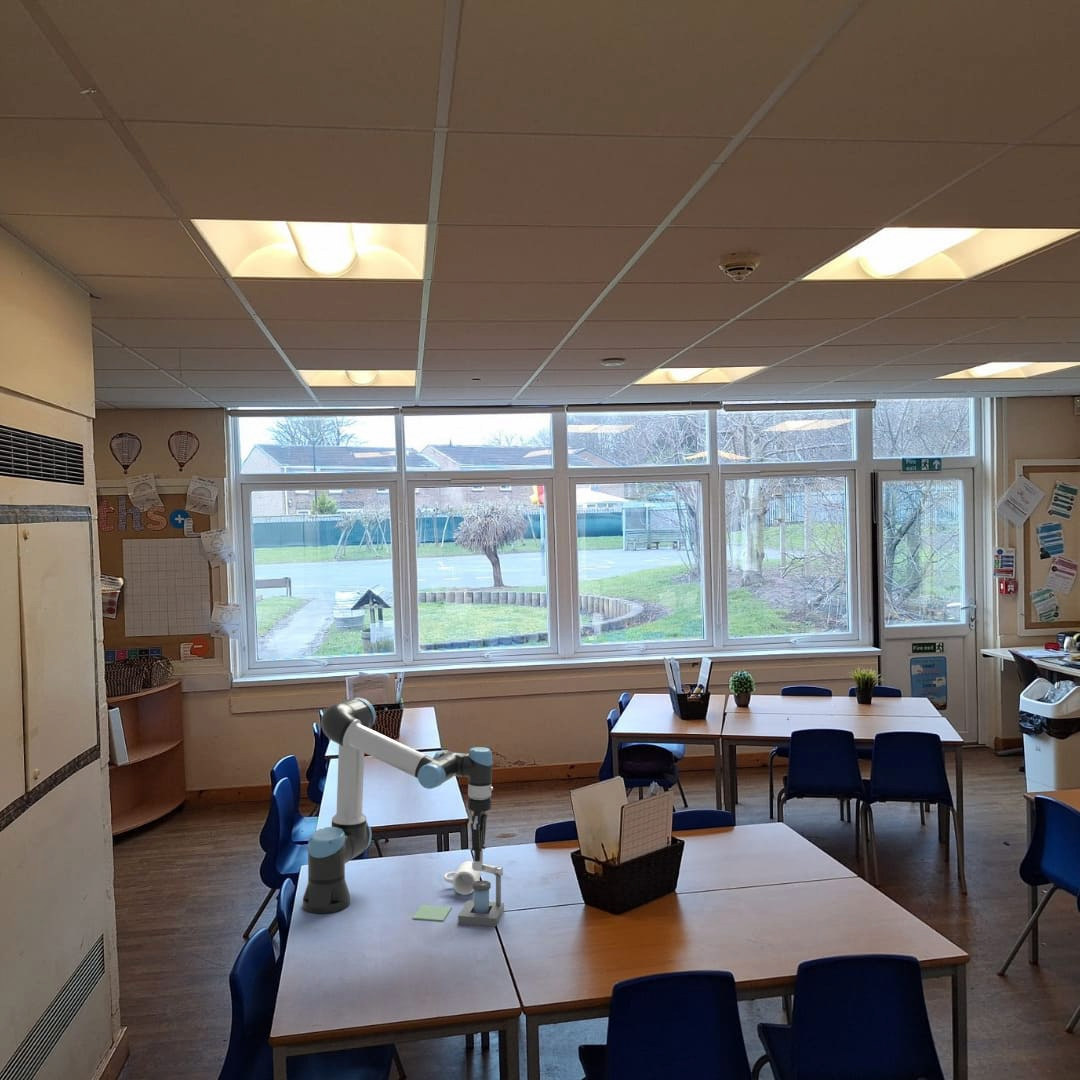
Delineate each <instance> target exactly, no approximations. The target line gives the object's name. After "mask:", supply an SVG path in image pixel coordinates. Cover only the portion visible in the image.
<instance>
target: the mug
mask: <svg viewBox="0 0 1080 1080" xmlns="http://www.w3.org/2000/svg"><path fill="white" fill-rule="evenodd" d="M472 862H473V861H471V860H470V861H469V860H468V861H464V862H462V863H461V864H460V865H459V867H458V868H457V871H449V872H445V874H444V875H443V880H444V881H445V882H446V883H449V884H452V887H453V889H454V890H455V892H456V893H458V894H460V895H462V896H468V895H471V894H472V893H474V889H473V888H472V884H473V883H474V882H476V881H480V878H481V874H482V871H474V870H473V869H472ZM450 877H451V878H450ZM452 877H453V878H452Z"/></svg>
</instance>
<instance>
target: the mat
mask: <svg viewBox="0 0 1080 1080" xmlns="http://www.w3.org/2000/svg"><path fill="white" fill-rule="evenodd" d="M452 908H453V907H452V906H441V905H429V904H428V905H427V904H421V905H420V906H419V908H418V910H417V911H416V912H415V914H414V915H413V916H412V919H413V920H421V921H422V920H423V921H434V922H435V921H437V922H444V921H445V920H446V918H447V916H448V915H449V913H450V912H451V911H452Z"/></svg>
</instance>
